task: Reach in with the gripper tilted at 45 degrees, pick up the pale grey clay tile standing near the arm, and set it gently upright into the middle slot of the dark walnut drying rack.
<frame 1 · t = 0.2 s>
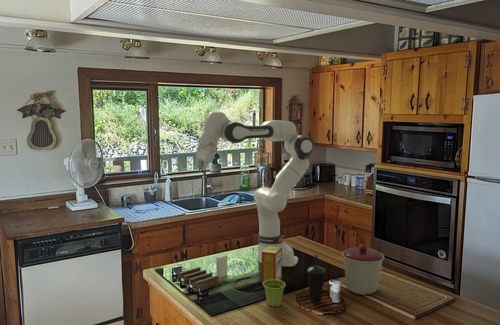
hand: (200, 169, 205), 52 cm above the table, tool tilted 20°, fingers open, 8 cm apart
clay tile: (221, 276, 203), on the table
drying rack: (198, 283, 194), on the table
baking soda box: (271, 282, 196), on the table
plant pot: (274, 304, 173), on the table
canister: (361, 290, 186), on the table
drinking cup: (315, 301, 176), on the table
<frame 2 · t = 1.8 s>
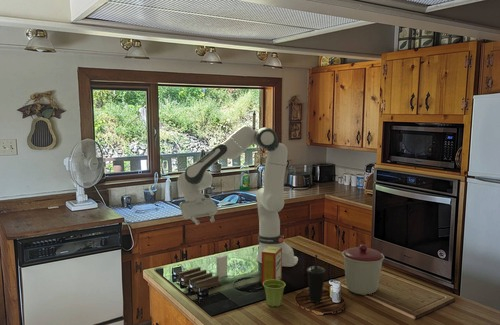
hand: (205, 222, 209), 24 cm above the table, tool tilted 45°, fingers open, 8 cm apart
nothing on the table moved.
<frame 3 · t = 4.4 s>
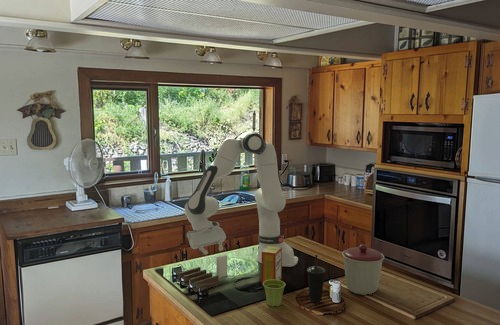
hand: (214, 251, 206), 11 cm above the table, tool tilted 45°, fingers open, 8 cm apart
nothing on the table moved.
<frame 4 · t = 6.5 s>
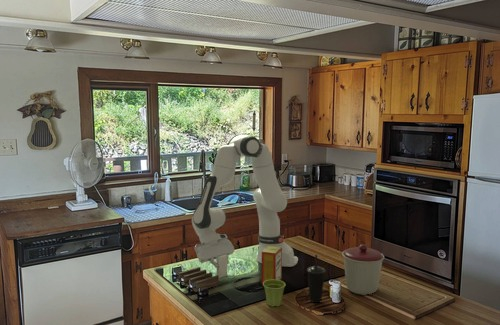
hand: (222, 265, 202), 6 cm above the table, tool tilted 45°, fingers closed on clay tile, 5 cm apart
clay tile: (221, 276, 203), on the table, touching gripper
everything else where it was.
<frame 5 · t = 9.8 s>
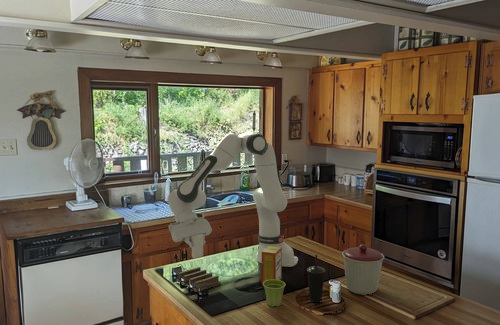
hand: (198, 245, 191), 19 cm above the table, tool tilted 45°, fingers closed on clay tile, 5 cm apart
clay tile: (197, 256, 192), point 13 cm above the table, touching gripper
everything else where it was.
when the fingers open (8 cm above the table, at t = 13.0 s): clay tile drops 1 cm, resting on drying rack.
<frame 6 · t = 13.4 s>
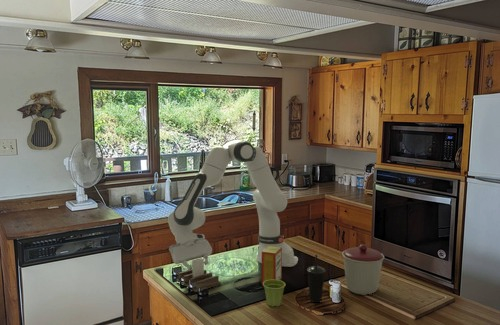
hand: (198, 266, 192), 8 cm above the table, tool tilted 45°, fingers open, 8 cm apart
clay tile: (198, 280, 194), point 1 cm above the table, touching drying rack
everything else where it was.
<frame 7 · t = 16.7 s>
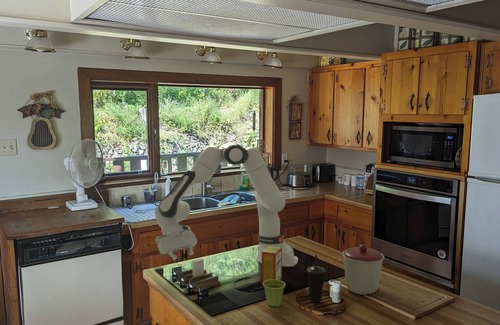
hand: (183, 256, 202), 10 cm above the table, tool tilted 45°, fingers open, 8 cm apart
nothing on the table moved.
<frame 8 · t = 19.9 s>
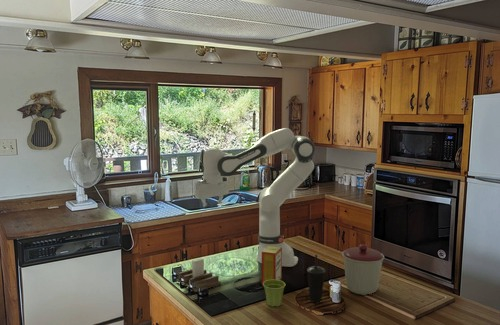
hand: (212, 204, 219), 31 cm above the table, tool pointing down, fingers open, 8 cm apart
nothing on the table moved.
at the end: clay tile 0.1 cm off-centre on the drying rack, point 1.5 cm above the drying rack's base; clay tile tilted 0°; the gripper is holding nothing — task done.
